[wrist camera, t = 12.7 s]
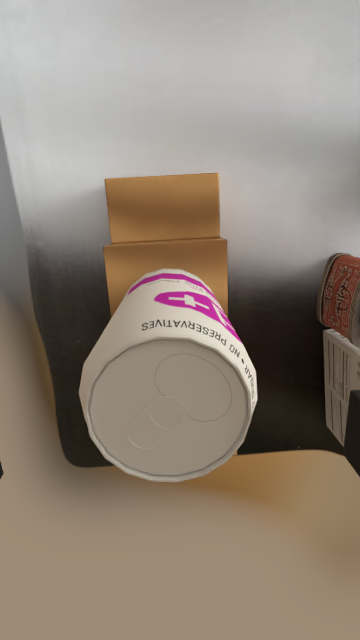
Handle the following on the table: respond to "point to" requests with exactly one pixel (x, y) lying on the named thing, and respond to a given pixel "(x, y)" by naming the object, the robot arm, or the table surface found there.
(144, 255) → the step shelf
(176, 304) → the supplement can
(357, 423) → the robot arm
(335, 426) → the supplement box
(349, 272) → the lighter
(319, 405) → the table surface
